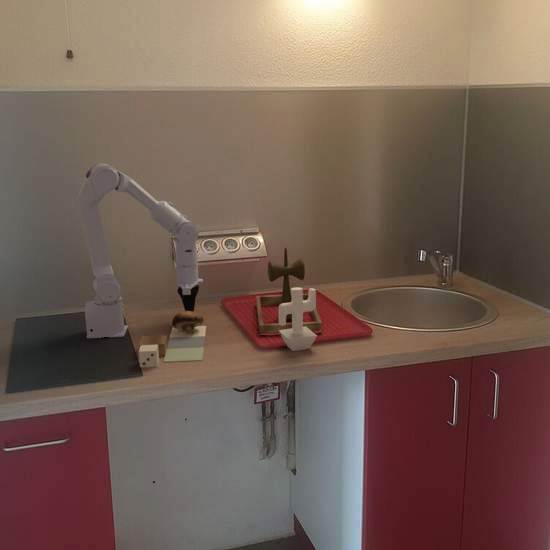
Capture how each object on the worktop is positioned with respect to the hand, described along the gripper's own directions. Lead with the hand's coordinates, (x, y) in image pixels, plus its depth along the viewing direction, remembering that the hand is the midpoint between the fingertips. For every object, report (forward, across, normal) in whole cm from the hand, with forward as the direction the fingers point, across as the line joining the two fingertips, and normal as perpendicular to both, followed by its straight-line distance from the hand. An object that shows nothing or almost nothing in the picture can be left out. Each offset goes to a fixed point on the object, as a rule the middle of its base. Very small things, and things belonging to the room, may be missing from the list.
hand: (189, 312), depth 188 cm
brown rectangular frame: (+3, 0, -26) cm, 27 cm away
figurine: (+3, -22, -28) cm, 36 cm away
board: (+3, -16, 0) cm, 17 cm away
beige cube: (+1, -27, +8) cm, 28 cm away
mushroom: (+3, -8, 0) cm, 9 cm away
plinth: (+3, -21, +8) cm, 23 cm away
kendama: (+3, 0, -26) cm, 27 cm away
